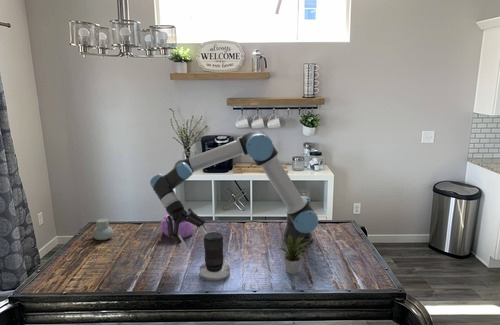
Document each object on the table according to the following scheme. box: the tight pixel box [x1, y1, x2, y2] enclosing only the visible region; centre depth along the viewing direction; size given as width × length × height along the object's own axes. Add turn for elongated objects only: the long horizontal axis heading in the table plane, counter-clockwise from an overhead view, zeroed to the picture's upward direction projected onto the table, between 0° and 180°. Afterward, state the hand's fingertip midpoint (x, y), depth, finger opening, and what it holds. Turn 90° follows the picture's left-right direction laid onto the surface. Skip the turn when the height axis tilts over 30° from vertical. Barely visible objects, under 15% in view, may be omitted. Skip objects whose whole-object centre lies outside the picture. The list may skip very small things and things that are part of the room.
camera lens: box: [203, 231, 224, 272], centre depth 160 cm, size 8×8×15 cm
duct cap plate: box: [199, 261, 231, 283], centre depth 162 cm, size 13×13×3 cm
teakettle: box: [159, 212, 194, 241], centre depth 204 cm, size 17×17×12 cm
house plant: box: [278, 235, 311, 275], centre depth 162 cm, size 14×14×16 cm
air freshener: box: [92, 218, 115, 241], centre depth 199 cm, size 11×8×10 cm
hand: (196, 243), depth 166 cm, fingers open, 13 cm apart
